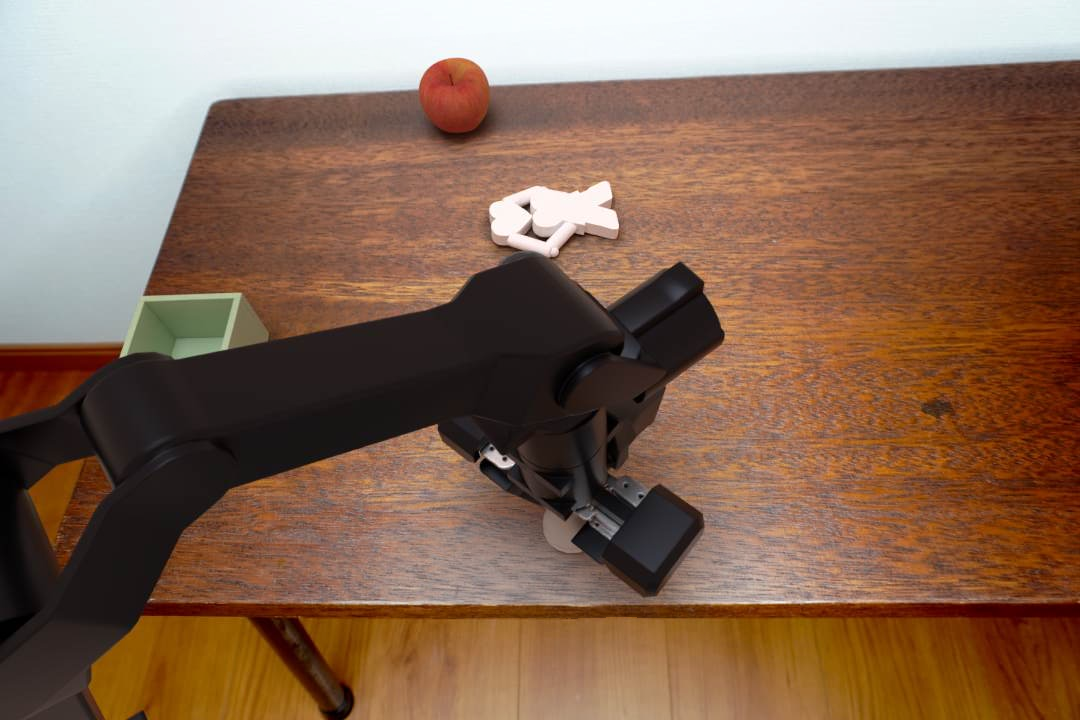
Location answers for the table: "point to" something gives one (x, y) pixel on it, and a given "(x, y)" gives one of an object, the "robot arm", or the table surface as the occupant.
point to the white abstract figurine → (552, 217)
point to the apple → (455, 94)
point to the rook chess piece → (562, 531)
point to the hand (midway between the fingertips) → (570, 519)
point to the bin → (193, 325)
